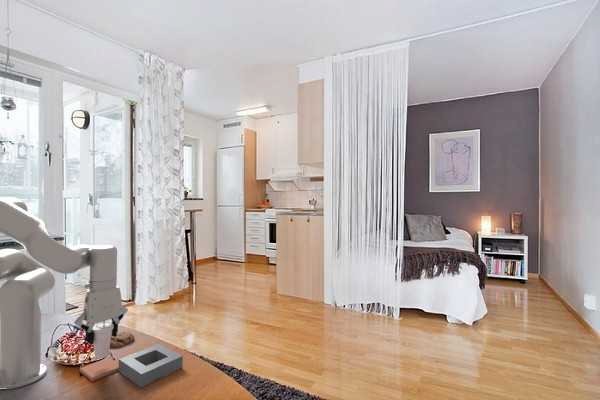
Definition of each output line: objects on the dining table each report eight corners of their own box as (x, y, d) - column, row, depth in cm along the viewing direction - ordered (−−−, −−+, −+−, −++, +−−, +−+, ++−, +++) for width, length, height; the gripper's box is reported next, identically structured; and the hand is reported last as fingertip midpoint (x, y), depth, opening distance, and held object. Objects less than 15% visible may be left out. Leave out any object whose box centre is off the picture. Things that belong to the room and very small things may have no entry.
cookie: (139, 341, 126) (139, 333, 126) (110, 351, 117) (111, 343, 117) (126, 334, 131) (126, 327, 131) (98, 343, 122) (98, 336, 122)
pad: (91, 381, 98) (92, 378, 98) (79, 371, 103) (79, 368, 103) (122, 368, 105) (122, 365, 105) (109, 360, 110) (109, 357, 110)
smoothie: (105, 361, 101) (106, 317, 101) (85, 360, 101) (86, 316, 101) (117, 351, 107) (118, 309, 107) (98, 350, 107) (99, 309, 107)
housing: (141, 387, 96) (141, 374, 95) (118, 371, 104) (118, 359, 104) (182, 367, 107) (182, 355, 107) (158, 354, 115) (159, 343, 115)
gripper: (77, 292, 95) (76, 353, 95) (135, 280, 109) (134, 333, 109) (67, 287, 99) (66, 345, 99) (124, 277, 113) (123, 327, 113)
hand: (102, 338), depth 104 cm, fingers closed on smoothie, 6 cm apart
